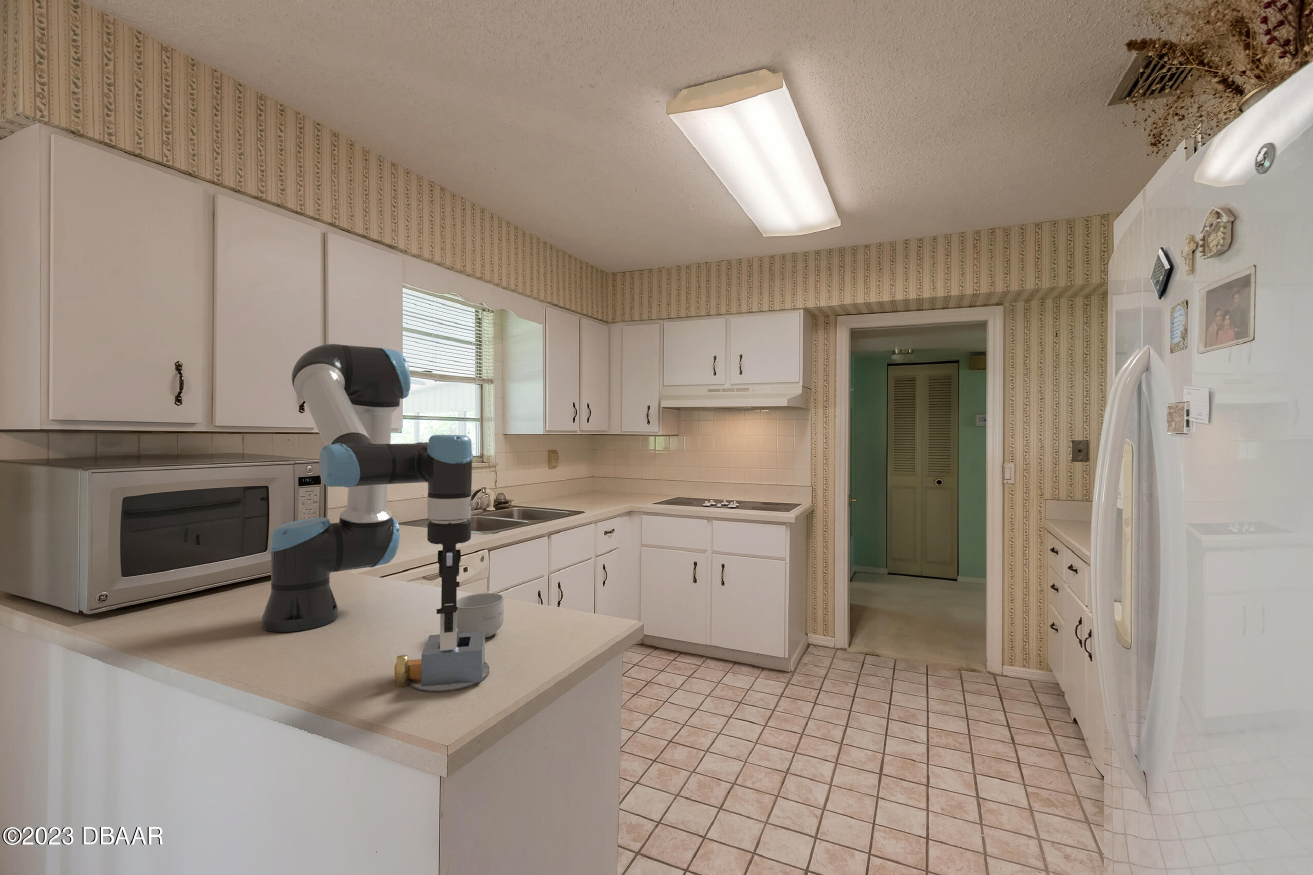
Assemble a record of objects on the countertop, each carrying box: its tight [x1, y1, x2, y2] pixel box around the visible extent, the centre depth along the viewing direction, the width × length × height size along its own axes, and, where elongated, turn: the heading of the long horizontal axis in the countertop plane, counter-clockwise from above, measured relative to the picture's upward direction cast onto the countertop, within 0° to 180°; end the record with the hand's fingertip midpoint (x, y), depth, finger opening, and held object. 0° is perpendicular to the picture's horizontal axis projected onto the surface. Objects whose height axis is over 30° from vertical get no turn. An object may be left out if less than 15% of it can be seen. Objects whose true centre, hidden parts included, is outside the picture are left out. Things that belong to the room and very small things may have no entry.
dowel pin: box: [396, 654, 409, 688], centre depth 104 cm, size 2×2×5 cm
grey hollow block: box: [394, 631, 486, 687], centre depth 107 cm, size 15×10×6 cm, turn 103°
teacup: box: [457, 590, 505, 639], centre depth 131 cm, size 14×11×8 cm
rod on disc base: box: [408, 626, 490, 693], centre depth 108 cm, size 14×14×9 cm
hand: (448, 635), depth 108 cm, fingers open, 13 cm apart
